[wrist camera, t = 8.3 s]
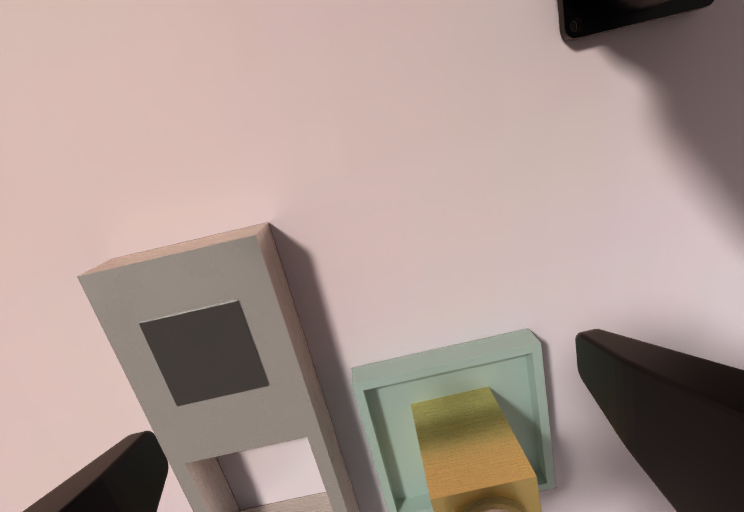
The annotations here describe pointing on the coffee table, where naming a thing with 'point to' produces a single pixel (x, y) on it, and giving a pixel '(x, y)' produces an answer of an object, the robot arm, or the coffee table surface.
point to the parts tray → (443, 378)
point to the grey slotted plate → (218, 361)
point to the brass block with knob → (473, 456)
